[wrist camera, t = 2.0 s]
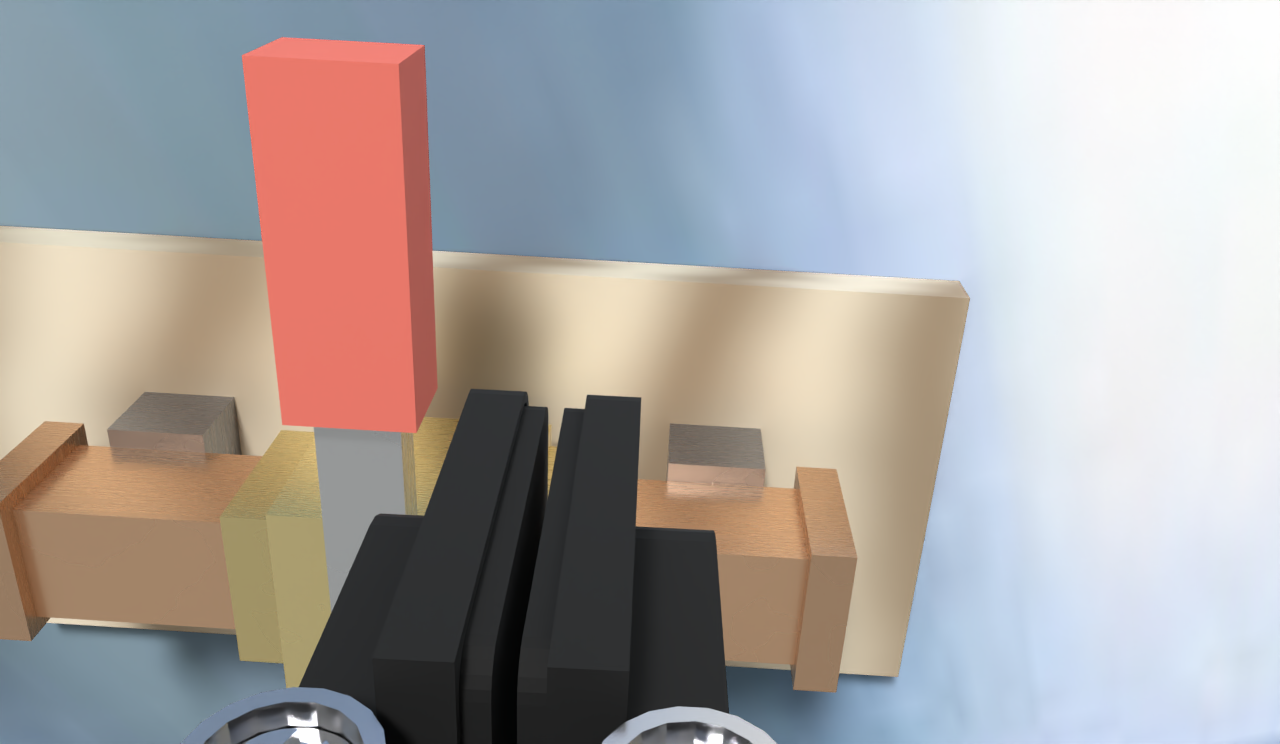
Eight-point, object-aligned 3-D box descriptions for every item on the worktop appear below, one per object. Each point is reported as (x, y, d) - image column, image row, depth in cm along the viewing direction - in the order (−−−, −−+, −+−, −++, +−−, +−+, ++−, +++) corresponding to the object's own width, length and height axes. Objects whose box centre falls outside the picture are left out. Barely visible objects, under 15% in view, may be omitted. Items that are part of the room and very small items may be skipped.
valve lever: (457, 671, 25) (436, 747, 22) (343, 664, 25) (311, 739, 23) (437, 40, 19) (405, 64, 17) (286, 32, 19) (235, 55, 17)
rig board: (959, 281, 28) (969, 298, 27) (891, 649, 33) (897, 676, 32) (-40, 223, 28) (-69, 238, 27) (47, 596, 34) (25, 621, 33)
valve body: (830, 419, 28) (864, 551, 23) (809, 570, 31) (835, 724, 25) (75, 374, 29) (-67, 494, 23) (105, 526, 31) (-19, 669, 25)
